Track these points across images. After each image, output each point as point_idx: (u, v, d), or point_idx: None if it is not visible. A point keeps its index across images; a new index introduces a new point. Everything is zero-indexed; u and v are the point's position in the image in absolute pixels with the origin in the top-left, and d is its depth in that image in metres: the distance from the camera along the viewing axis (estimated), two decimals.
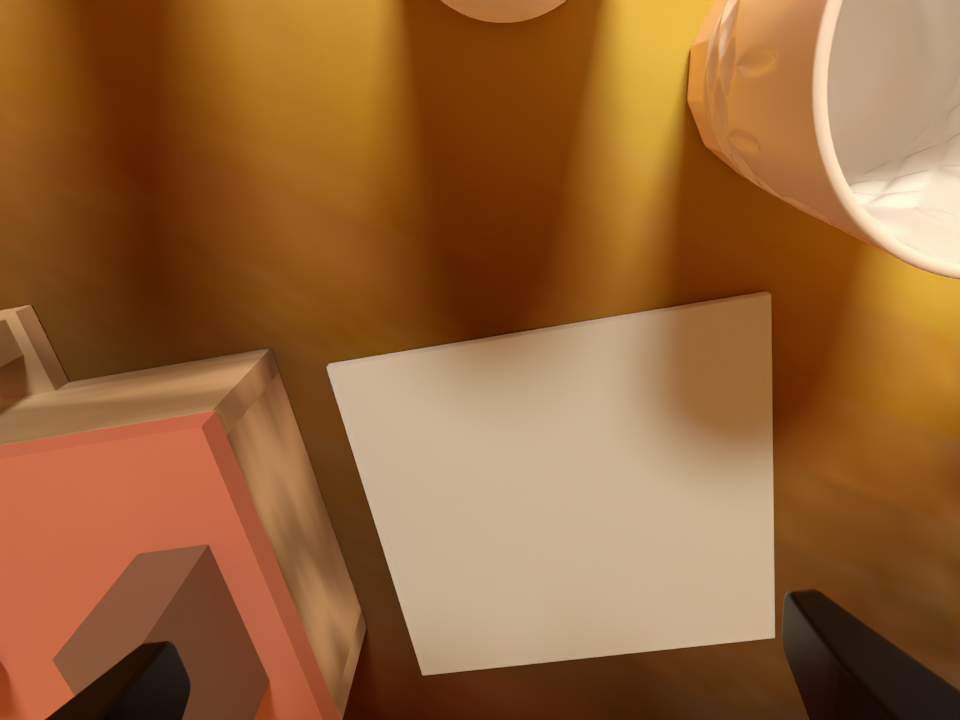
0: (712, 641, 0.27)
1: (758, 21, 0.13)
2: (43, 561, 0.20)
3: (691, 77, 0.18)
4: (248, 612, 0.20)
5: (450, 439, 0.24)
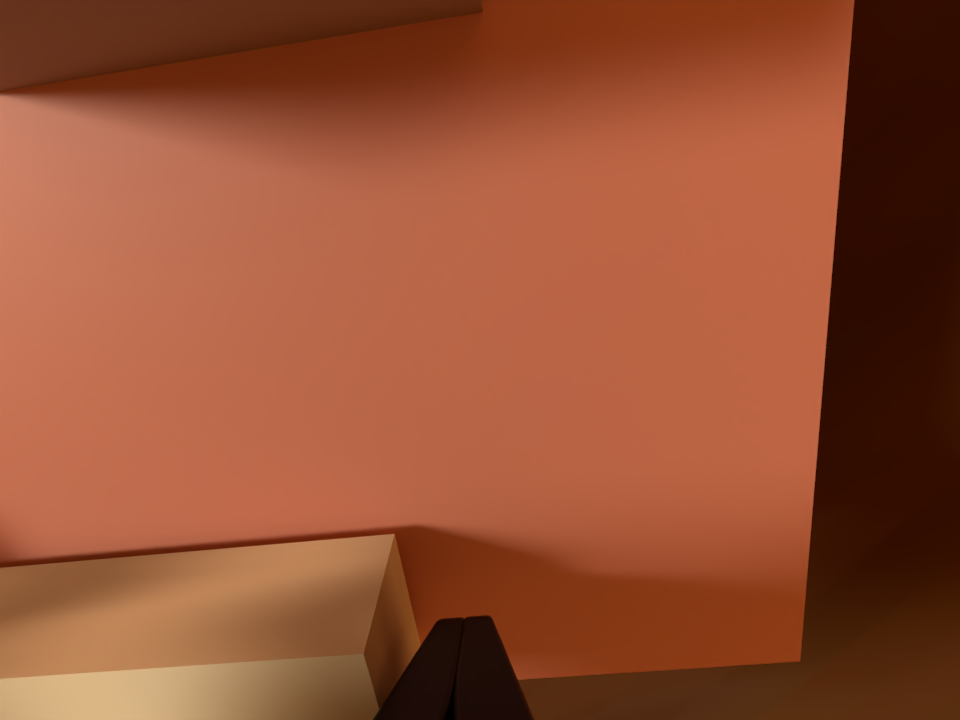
0: None
1: None
2: (74, 340, 0.09)
3: None
4: None
5: None
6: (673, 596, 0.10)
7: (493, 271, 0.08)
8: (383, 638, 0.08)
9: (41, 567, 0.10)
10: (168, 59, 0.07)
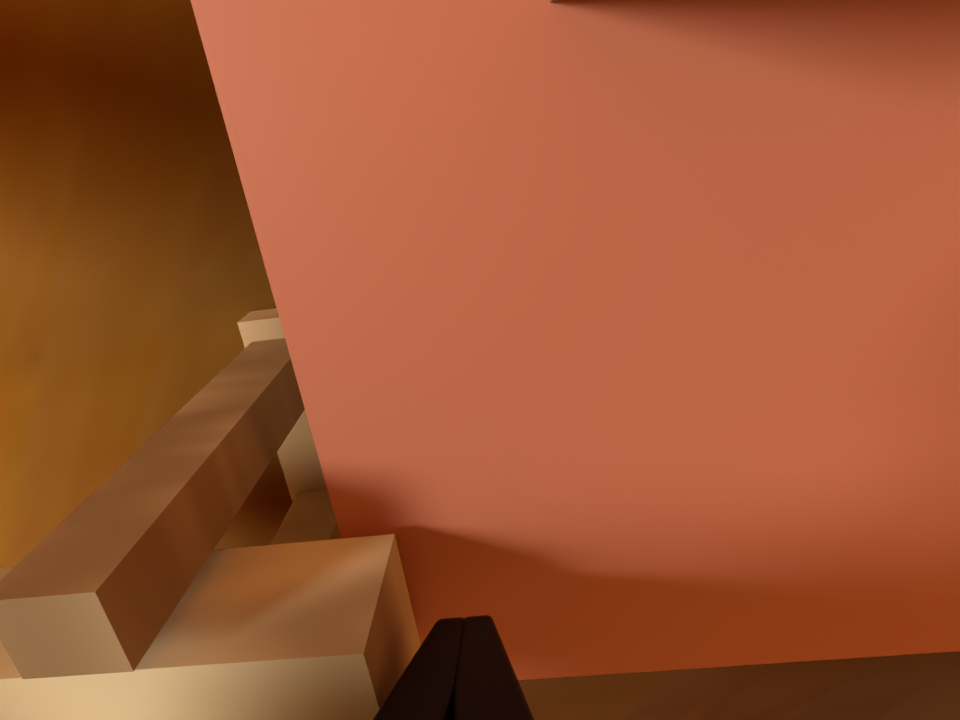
0: None
1: None
2: (556, 280, 0.08)
3: None
4: None
5: None
6: None
7: None
8: (383, 638, 0.08)
9: None
10: None
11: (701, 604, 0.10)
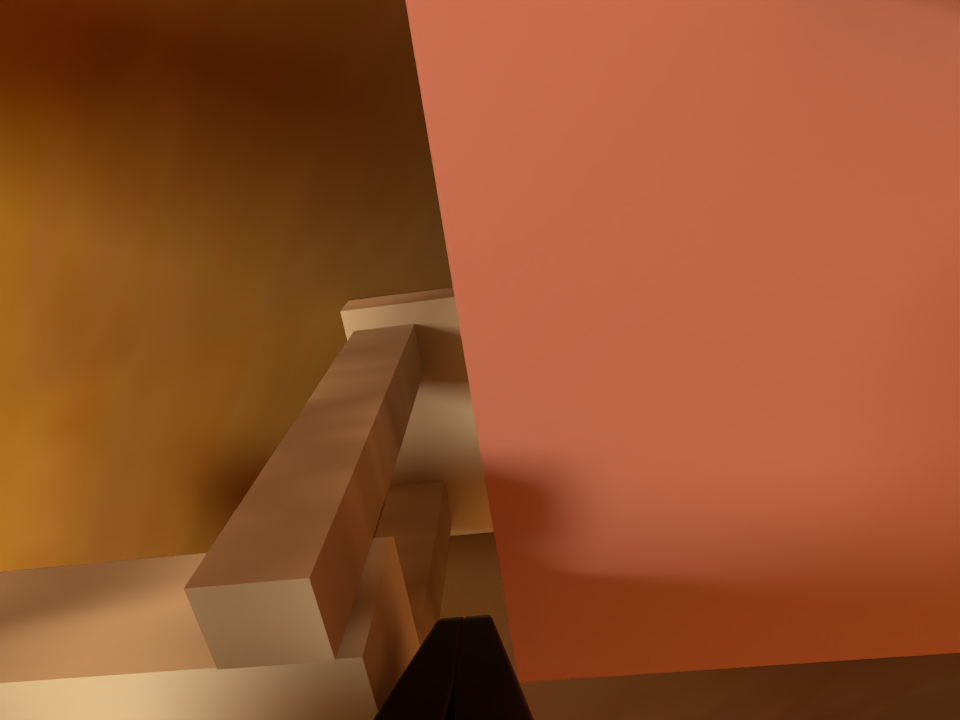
0: None
1: None
2: (748, 258, 0.08)
3: None
4: None
5: None
6: None
7: None
8: (382, 641, 0.08)
9: (40, 571, 0.10)
10: None
11: (858, 594, 0.10)
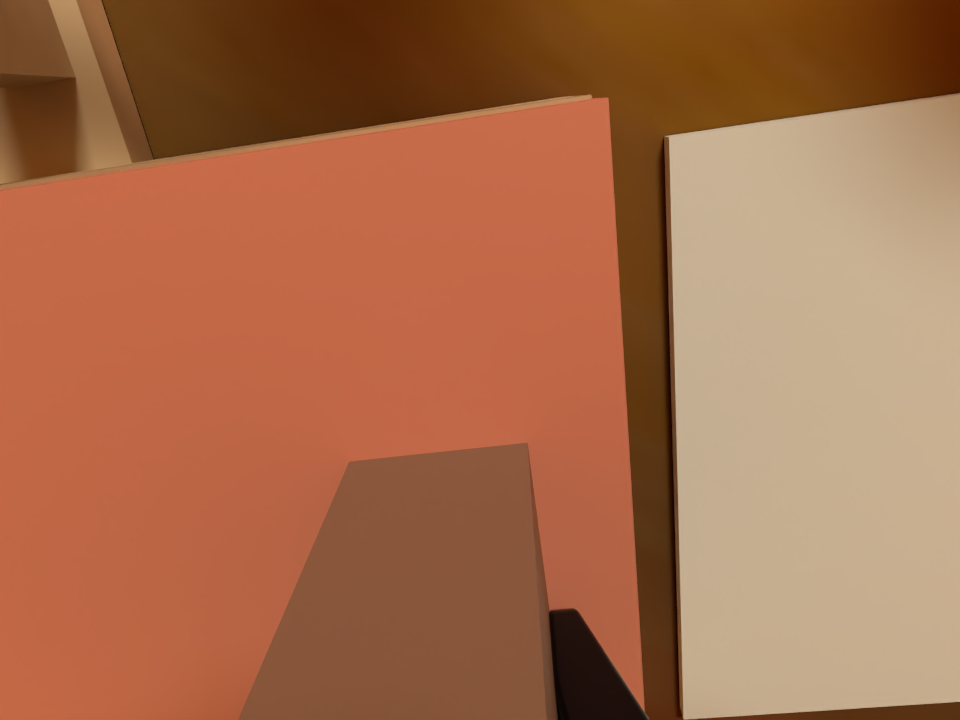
0: None
1: None
2: (121, 471, 0.08)
3: None
4: None
5: (865, 299, 0.13)
6: None
7: None
8: None
9: None
10: None
11: None
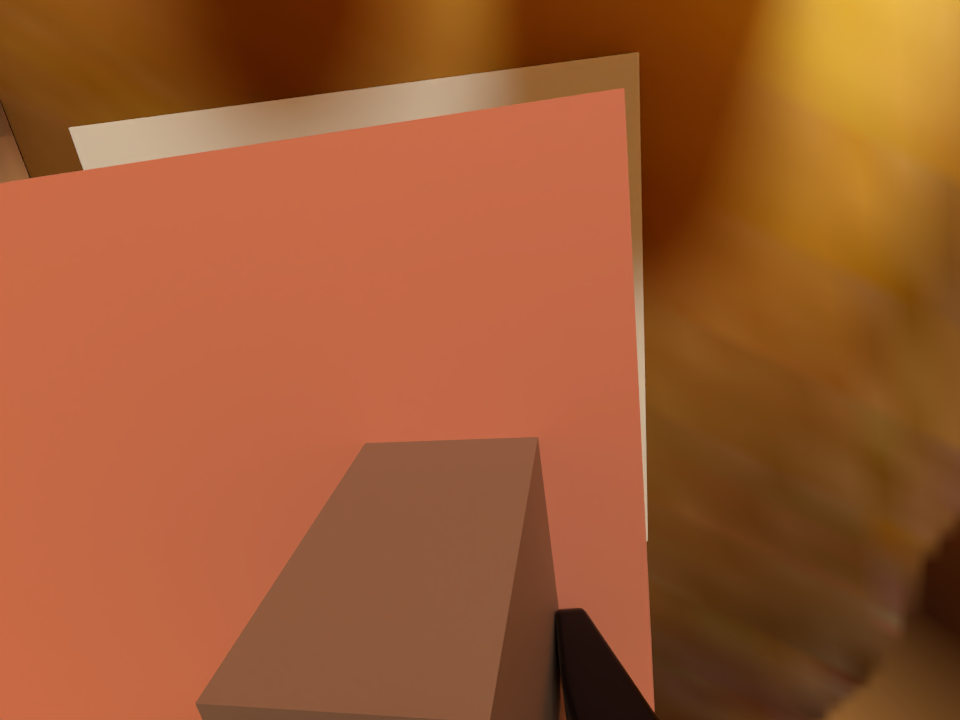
0: None
1: None
2: (161, 437, 0.09)
3: None
4: (579, 606, 0.09)
5: None
6: None
7: None
8: None
9: None
10: None
11: None
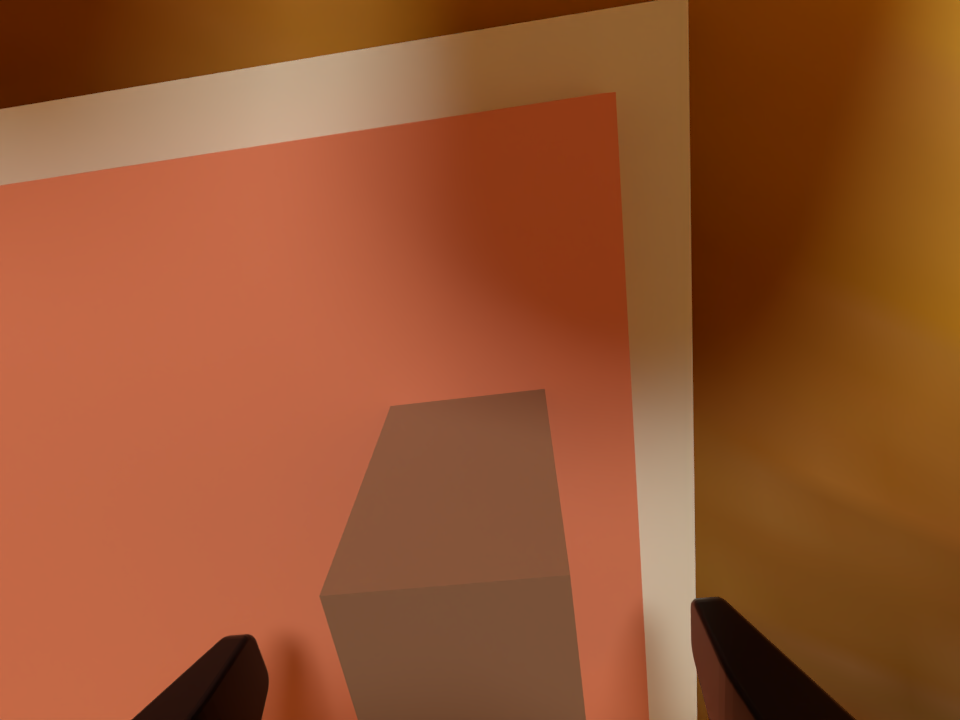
0: None
1: None
2: (193, 416, 0.10)
3: None
4: (579, 539, 0.10)
5: None
6: None
7: (300, 682, 0.12)
8: None
9: None
10: None
11: None
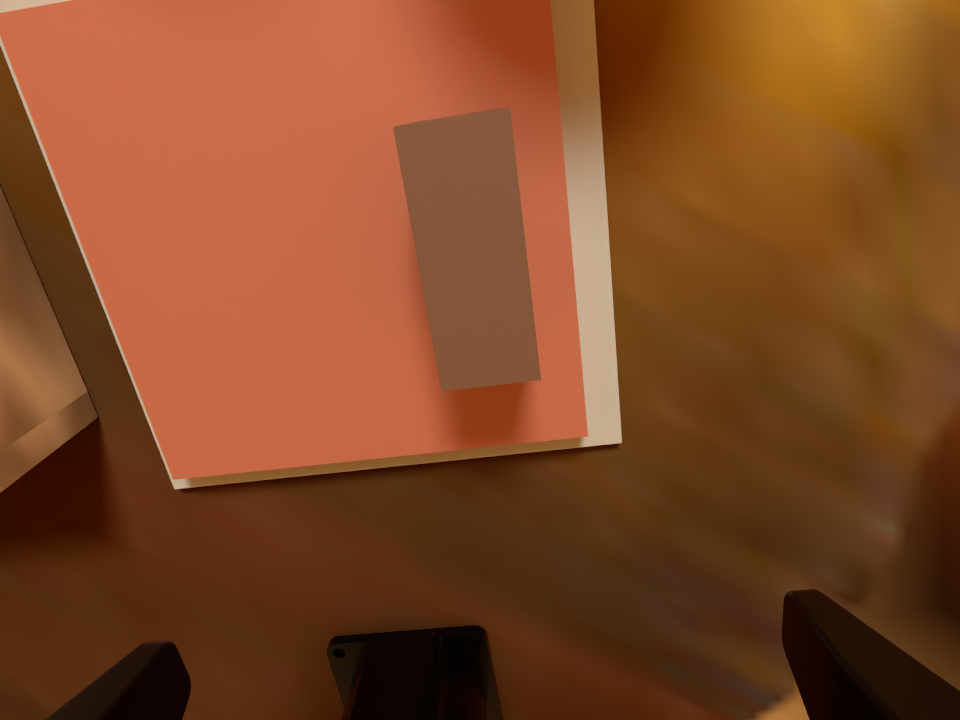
0: (542, 446, 0.21)
1: None
2: (300, 130, 0.16)
3: None
4: (532, 217, 0.17)
5: None
6: (199, 420, 0.20)
7: (356, 337, 0.19)
8: None
9: None
10: None
11: (123, 227, 0.18)
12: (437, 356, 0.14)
